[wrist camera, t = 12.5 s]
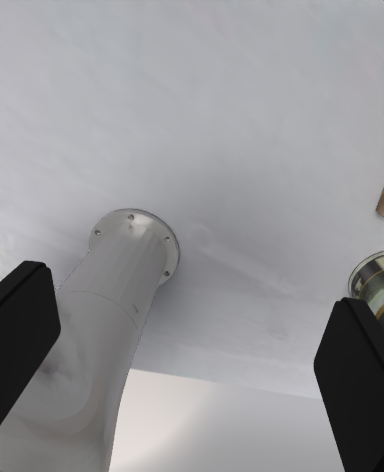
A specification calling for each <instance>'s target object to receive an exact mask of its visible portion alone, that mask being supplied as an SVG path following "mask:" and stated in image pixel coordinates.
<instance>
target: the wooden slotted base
mask: <svg viewBox="0 0 384 472" xmlns="http://www.w3.org/2000/svg"><path fill="white" fill-rule="evenodd" d="M376 211H377V212H379V213H380V214H381V215H382V216H383V217H384V189H383V192H382V195H381V197H380V200H379V203H378V205H377V208H376Z"/></svg>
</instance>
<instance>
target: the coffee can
mask: <svg viewBox="0 0 384 472" xmlns="http://www.w3.org/2000/svg"><path fill="white" fill-rule="evenodd" d="M349 293H350V295H351V298H356V299H363V300H365V301H366V302H367V304H368V305H369V307H370V309H371V310H372V312H373V313H374V315H375V316H376V318H377V319H378V321H379V322H380V324H381V326H382V327H383V329H384V251H383V252H380V253H377V254H375V255H372V256H371V257H369V258H367V259H366V260H364V261H363V262H362V263H360V264H359V265H358V266H357V268H356V269H355V270H354V272H353V273H352V275H351V277H350V280H349Z"/></svg>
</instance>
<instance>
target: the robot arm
mask: <svg viewBox="0 0 384 472" xmlns="http://www.w3.org/2000/svg"><path fill="white" fill-rule="evenodd" d="M132 215H133V216H132ZM167 237H169V238H167ZM89 249H90V251H89V253H88V254H87V255H86V256H85V257H84V259H83V260H82V261H81V262H80V264H79V265H78V266H77V267H76V268H75V270H74V271H73V272H72V273H71V275H70V276H69V277H68V278H67V279H66V281H65V282H64V283H63V284H62V285H61V287H60V288H59V289H58V290H57V292H56V293H55V291H54V285H53V280H52V274H51V270H50V268H48V267H46V264H45V263H43V262H35V261H24V262H22V263H21V264H20V265H19V266H18V267H17V268H15V269H14V270H13V271H12V272H11V273H10V274H9V275H7V276H6V277H5V278H4V279H3V280H2V281H1V282H0V472H108V471H109V466H110V461H111V455H112V449H113V442H114V435H115V428H116V422H117V416H118V410H119V406H120V401H121V397H122V393H123V389H124V386H125V382H126V379H127V375H128V372H129V369H130V366H131V363H132V360H133V357H134V354H135V351H136V348H137V345H138V343H139V340H140V337H141V334H142V331H143V328H144V325H145V323H146V320H147V317H148V314H149V311H150V308H151V305H152V302H153V299H154V297H155V294H156V291H157V288H158V286H160V285H162V284H163V283H165V282H166V281H167V280H168V279H169V278H170V277H171V276H172V275H173V273H174V272H175V269H176V267H177V263H178V259H179V249H178V244H177V241H176V239H175V236H174V235H173V233H172V232H171V230H170V229H169V228H168V227H167V226H166V224H165V223H164V222H162V221H161V220H160V219H158V218H157V217H155V216H153V215H151V214H149V213H147V212H143V211H140V210H134V209H122V210H118V211H114V212H112V213H110V214H107V215H106V216H105V217H103V218H102V219H101V220H100V221H99V222H98V223H97V224H96V225H95V227H94V228H93V230H92V233H91V236H90V241H89ZM314 372H315V376H316V379H317V382H318V385H319V389H320V392H321V395H322V398H323V402H324V405H325V408H326V411H327V414H328V418H329V421H330V424H331V427H332V431H333V434H334V437H335V441H336V444H337V447H338V451H339V454H340V457H341V460H342V463H343V467H344V470H345V472H384V329H383V327H382V326H381V324H380V322H379V321H378V319H377V318H376V316H375V315H374V313H373V312H372V310H371V309H370V307H369V305H368V304H367V302H366V301H365V300H363V299H356V298H347V297H344V298H342V299H341V301H336V302H335V304H334V307H333V310H332V312H331V315H330V318H329V321H328V323H327V326H326V329H325V332H324V334H323V337H322V340H321V343H320V345H319V348H318V351H317V354H316V356H315V359H314Z"/></svg>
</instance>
